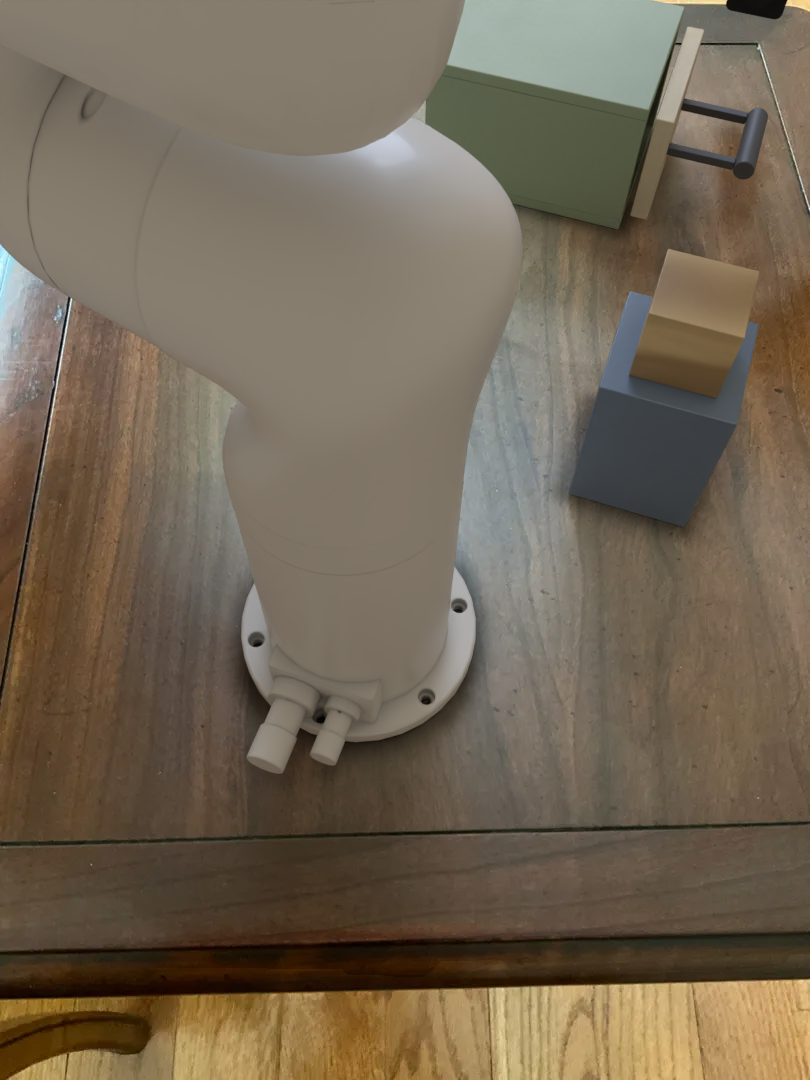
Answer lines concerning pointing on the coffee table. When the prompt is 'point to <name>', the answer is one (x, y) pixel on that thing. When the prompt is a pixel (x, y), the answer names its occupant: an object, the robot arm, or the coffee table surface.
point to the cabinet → (558, 97)
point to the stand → (655, 431)
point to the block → (695, 323)
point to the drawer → (677, 102)
